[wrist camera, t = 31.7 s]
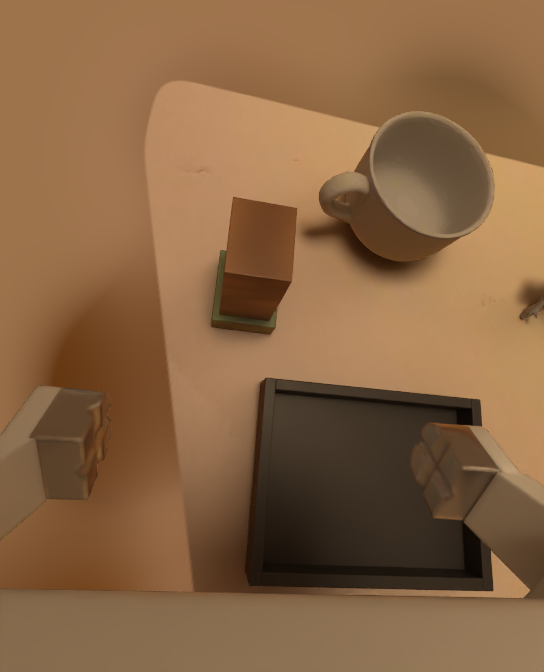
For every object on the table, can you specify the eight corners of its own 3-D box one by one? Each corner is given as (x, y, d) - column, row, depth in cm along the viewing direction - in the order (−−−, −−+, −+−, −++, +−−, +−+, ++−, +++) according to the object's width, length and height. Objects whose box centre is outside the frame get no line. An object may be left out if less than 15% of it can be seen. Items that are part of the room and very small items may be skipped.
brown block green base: (211, 326, 31) (214, 278, 22) (219, 260, 33) (225, 188, 23) (271, 334, 32) (299, 290, 22) (276, 268, 33) (305, 202, 24)
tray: (244, 572, 27) (248, 586, 25) (260, 382, 31) (265, 377, 28) (469, 578, 30) (493, 591, 27) (459, 402, 33) (480, 399, 31)
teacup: (431, 181, 39) (487, 118, 31) (446, 280, 36) (511, 238, 28) (299, 167, 36) (323, 97, 29) (304, 272, 34) (332, 225, 26)
